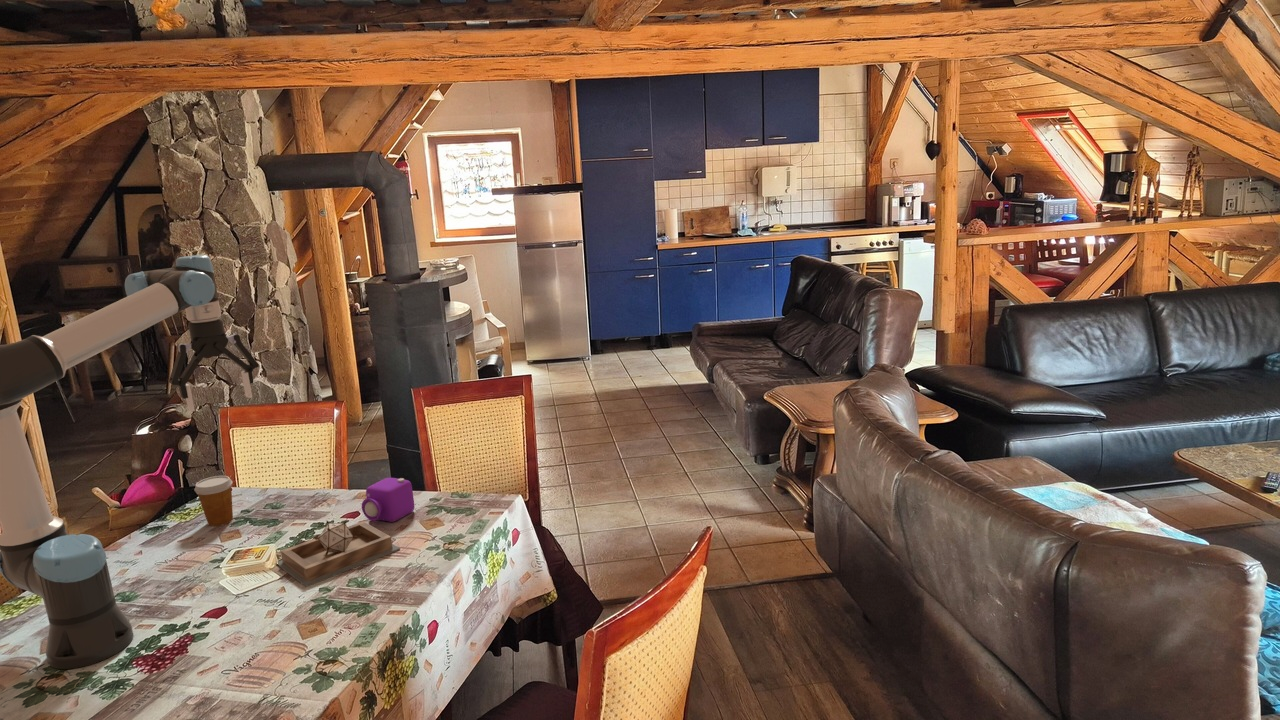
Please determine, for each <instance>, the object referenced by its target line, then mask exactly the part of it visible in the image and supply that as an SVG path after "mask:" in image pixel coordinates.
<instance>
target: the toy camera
mask: <svg viewBox="0 0 1280 720" xmlns="http://www.w3.org/2000/svg"><path fill="white" fill-rule="evenodd" d="M365 490H366V491H365V494H366V498H365V499H363V501H362V503H361V511H362V512H363V513H362V514H363V515H364V517H365V518H366V519H368V520H369V521H371V522H375V521H383V522H392V523H393V522H397V521H398V520H399V519H402V518H403V517H405V516H407V515H409V514H411V513H412V512H414V510H415V507H416V506H415V500H414V499H415V498H414V493H413V485H412V483H411V481H410V480H408V479H405V478H403V477H400V478H398V477H397V478H396V477H385V478H383V479H381V480H380V481H377V482H375V483H373V484H371V485H369V486H368V487H367V488H366V489H365Z"/></svg>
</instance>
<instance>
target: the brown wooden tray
mask: <svg viewBox="0 0 1280 720" xmlns="http://www.w3.org/2000/svg"><path fill="white" fill-rule="evenodd" d="M347 527H348V529H349V530H350V532H351V533H352V535H353V536H357V537H356V538H353V539H352V541H351V542H350V544H349V545H348V547H347V548H346V550H345V552H328V554H327V555H326V554H325V553H326V552H327V551H326V550H325V548H324V547H323V545H322V544H321V542H320V541H319V539H317V540H316V539H315V538H313V539H310V540H307V541H304V542H302V543H299V544H297V545H293V546H290V547H286V548H285V549H282V550H280V553H281V554H280V555H281V560H283V563H284V564H286V565H287V566H288V567H290V568H291V569H292V570H294V571H295V572H296V573H298V574H299V575H300V576H302V577H303V578H304V579H306V580H307V581H310V580H313V579H315V578H318V577H320V576H323V575H325V574H328V573H331V572H333V571H336V570H338V569H341V568H343V567H346V566H348V565H351V564H354V563H356V562H359V561H361V560H364V559H366V558H369V557H371V556H374V555H377V554H379V553H382V552H384V551H387V550H389V549H392V548H393V547H392V544H393V543H392V542H393V541H392V536H390V535H389V534H387V533H385V532H383V531H382V530H379V529H378V528H376V527H375V526H373V525H371V524H369V523H367V522H365V521H360V522H357V523H354V524H352V525H349V526H347ZM317 538H319V536H317Z"/></svg>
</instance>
